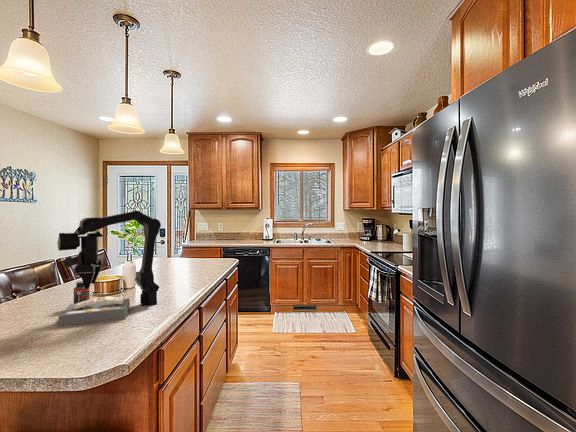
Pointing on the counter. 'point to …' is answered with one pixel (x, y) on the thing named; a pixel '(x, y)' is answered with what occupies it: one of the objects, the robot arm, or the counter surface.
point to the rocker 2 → (113, 300)
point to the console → (94, 313)
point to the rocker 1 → (85, 303)
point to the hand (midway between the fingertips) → (90, 286)
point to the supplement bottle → (81, 293)
